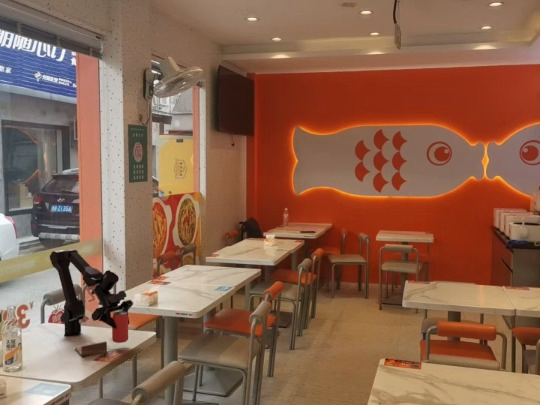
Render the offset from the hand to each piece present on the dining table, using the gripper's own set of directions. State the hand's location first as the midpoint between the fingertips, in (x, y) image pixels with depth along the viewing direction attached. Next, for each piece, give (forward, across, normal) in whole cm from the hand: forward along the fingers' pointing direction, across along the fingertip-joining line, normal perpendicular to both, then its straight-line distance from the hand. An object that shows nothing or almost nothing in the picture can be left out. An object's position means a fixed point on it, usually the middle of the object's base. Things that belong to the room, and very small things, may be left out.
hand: (122, 326), depth 233 cm
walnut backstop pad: (+2, -10, +12) cm, 16 cm away
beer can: (+4, 0, +6) cm, 7 cm away
